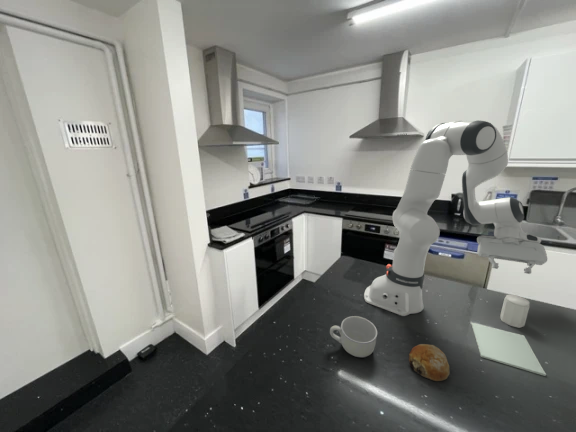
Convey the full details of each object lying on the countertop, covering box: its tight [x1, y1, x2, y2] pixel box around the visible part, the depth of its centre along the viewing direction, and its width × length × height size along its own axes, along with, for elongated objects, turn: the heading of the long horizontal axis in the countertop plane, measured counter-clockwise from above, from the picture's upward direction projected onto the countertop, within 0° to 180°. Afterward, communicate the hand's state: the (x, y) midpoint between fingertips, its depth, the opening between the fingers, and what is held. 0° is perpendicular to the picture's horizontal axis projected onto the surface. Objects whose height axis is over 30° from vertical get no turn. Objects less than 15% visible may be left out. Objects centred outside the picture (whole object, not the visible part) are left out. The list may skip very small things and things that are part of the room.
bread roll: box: [408, 343, 450, 382], centre depth 68 cm, size 10×10×8 cm
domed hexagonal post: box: [499, 294, 531, 329], centre depth 85 cm, size 6×6×9 cm
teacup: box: [329, 315, 378, 358], centre depth 75 cm, size 14×11×8 cm
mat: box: [471, 322, 547, 377], centre depth 75 cm, size 14×16×1 cm
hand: (511, 270), depth 91 cm, fingers open, 8 cm apart
